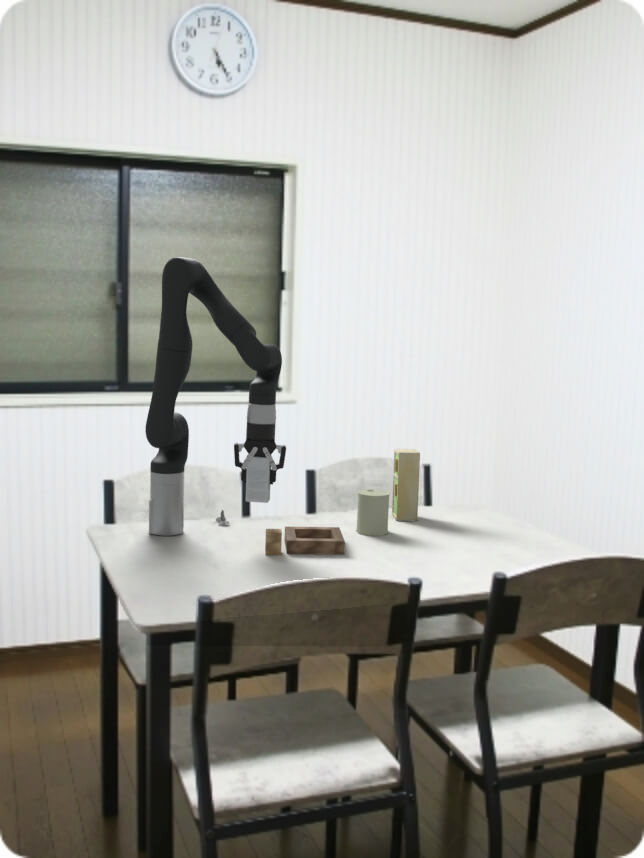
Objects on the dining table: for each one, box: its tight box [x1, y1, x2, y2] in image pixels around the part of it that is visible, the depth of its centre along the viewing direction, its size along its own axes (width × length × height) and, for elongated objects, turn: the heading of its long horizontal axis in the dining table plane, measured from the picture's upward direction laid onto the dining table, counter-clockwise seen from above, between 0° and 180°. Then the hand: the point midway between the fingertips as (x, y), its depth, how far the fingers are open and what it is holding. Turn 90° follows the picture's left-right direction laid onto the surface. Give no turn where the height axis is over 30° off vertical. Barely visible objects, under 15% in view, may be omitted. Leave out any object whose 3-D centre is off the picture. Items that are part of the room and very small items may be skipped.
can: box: [355, 488, 390, 537], centre depth 265 cm, size 9×9×12 cm
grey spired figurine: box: [215, 509, 230, 526], centre depth 265 cm, size 15×7×4 cm, turn 17°
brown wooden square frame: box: [284, 526, 346, 555], centre depth 247 cm, size 15×15×4 cm
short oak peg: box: [264, 528, 283, 556], centre depth 239 cm, size 4×4×6 cm
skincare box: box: [245, 457, 272, 504], centre depth 243 cm, size 6×4×12 cm
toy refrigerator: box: [391, 448, 421, 522], centre depth 283 cm, size 8×7×21 cm
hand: (258, 483), depth 244 cm, fingers closed on skincare box, 6 cm apart
